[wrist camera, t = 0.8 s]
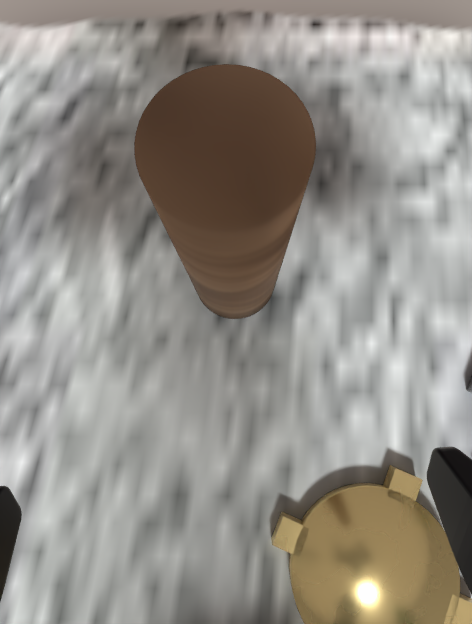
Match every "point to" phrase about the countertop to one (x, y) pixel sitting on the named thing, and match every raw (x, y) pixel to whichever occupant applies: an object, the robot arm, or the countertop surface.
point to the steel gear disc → (470, 385)
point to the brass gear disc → (372, 558)
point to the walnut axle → (227, 178)
